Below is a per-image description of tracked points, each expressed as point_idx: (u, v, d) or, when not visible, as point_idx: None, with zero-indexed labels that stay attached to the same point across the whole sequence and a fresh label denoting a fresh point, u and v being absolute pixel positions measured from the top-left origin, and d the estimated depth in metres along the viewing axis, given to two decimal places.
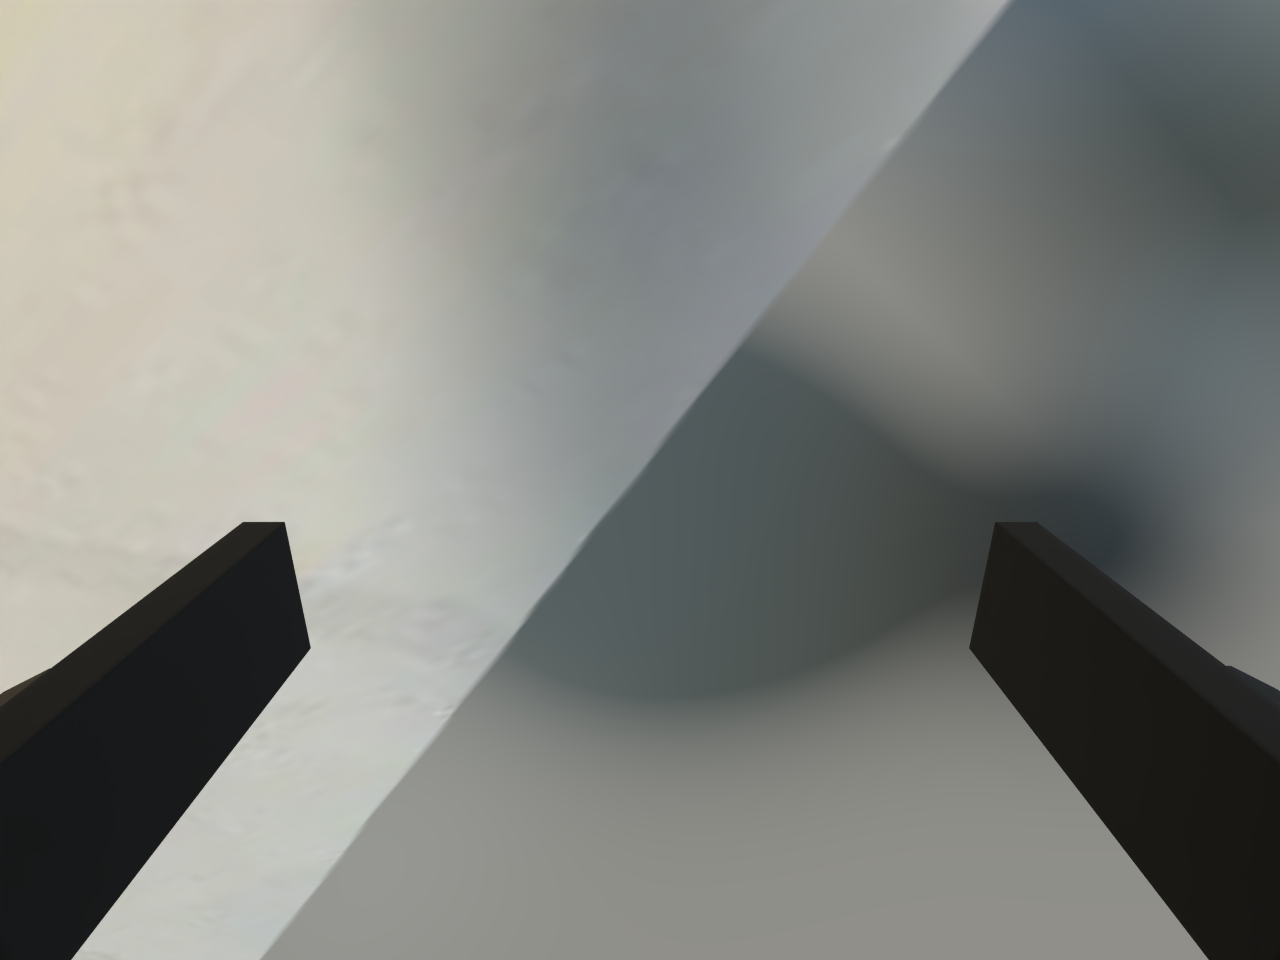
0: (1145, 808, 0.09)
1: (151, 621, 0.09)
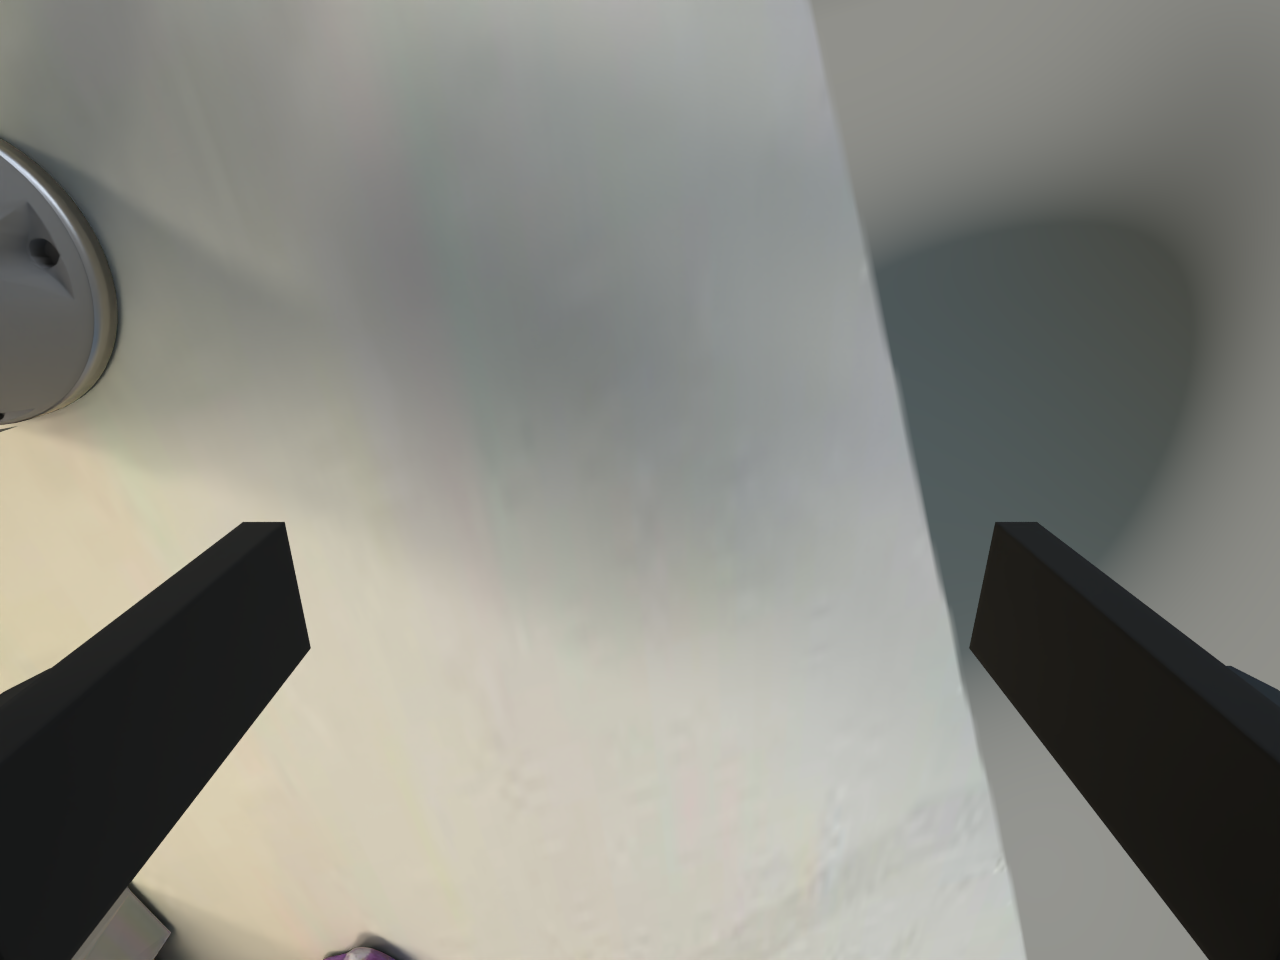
0: (1145, 808, 0.09)
1: (151, 621, 0.09)
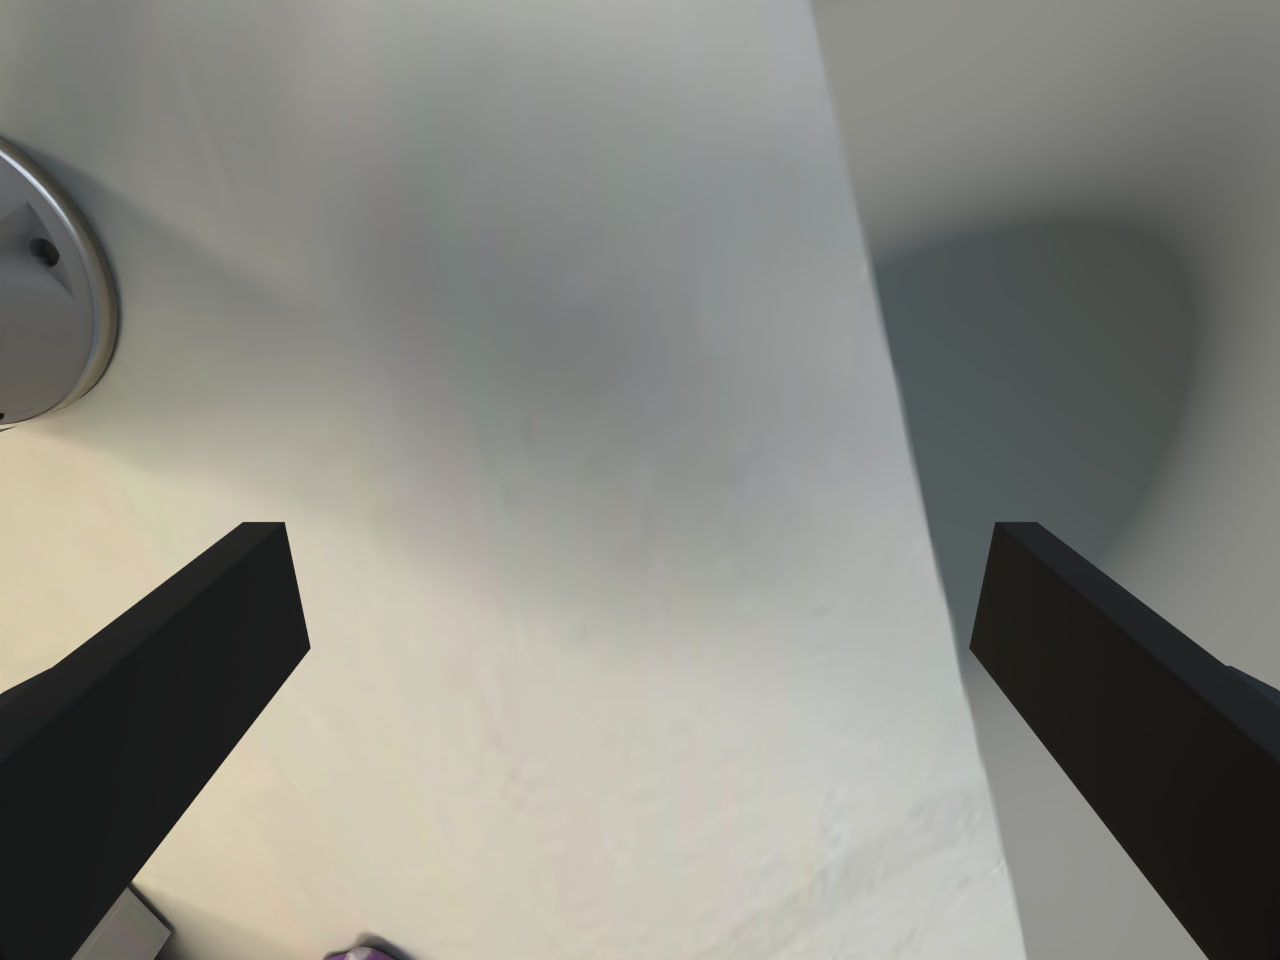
0: (1145, 808, 0.09)
1: (151, 621, 0.09)
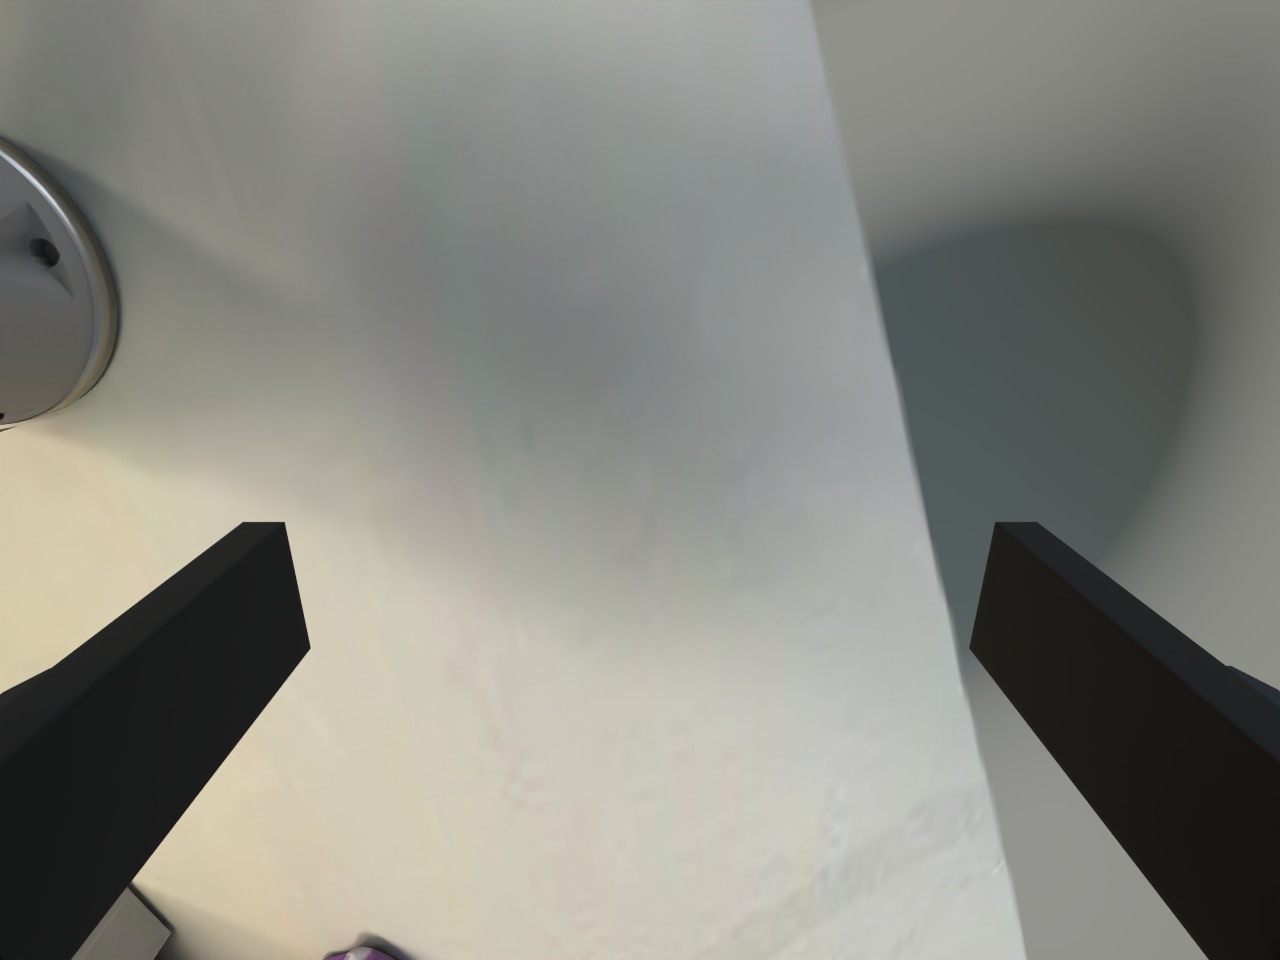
0: (1145, 808, 0.09)
1: (151, 621, 0.09)
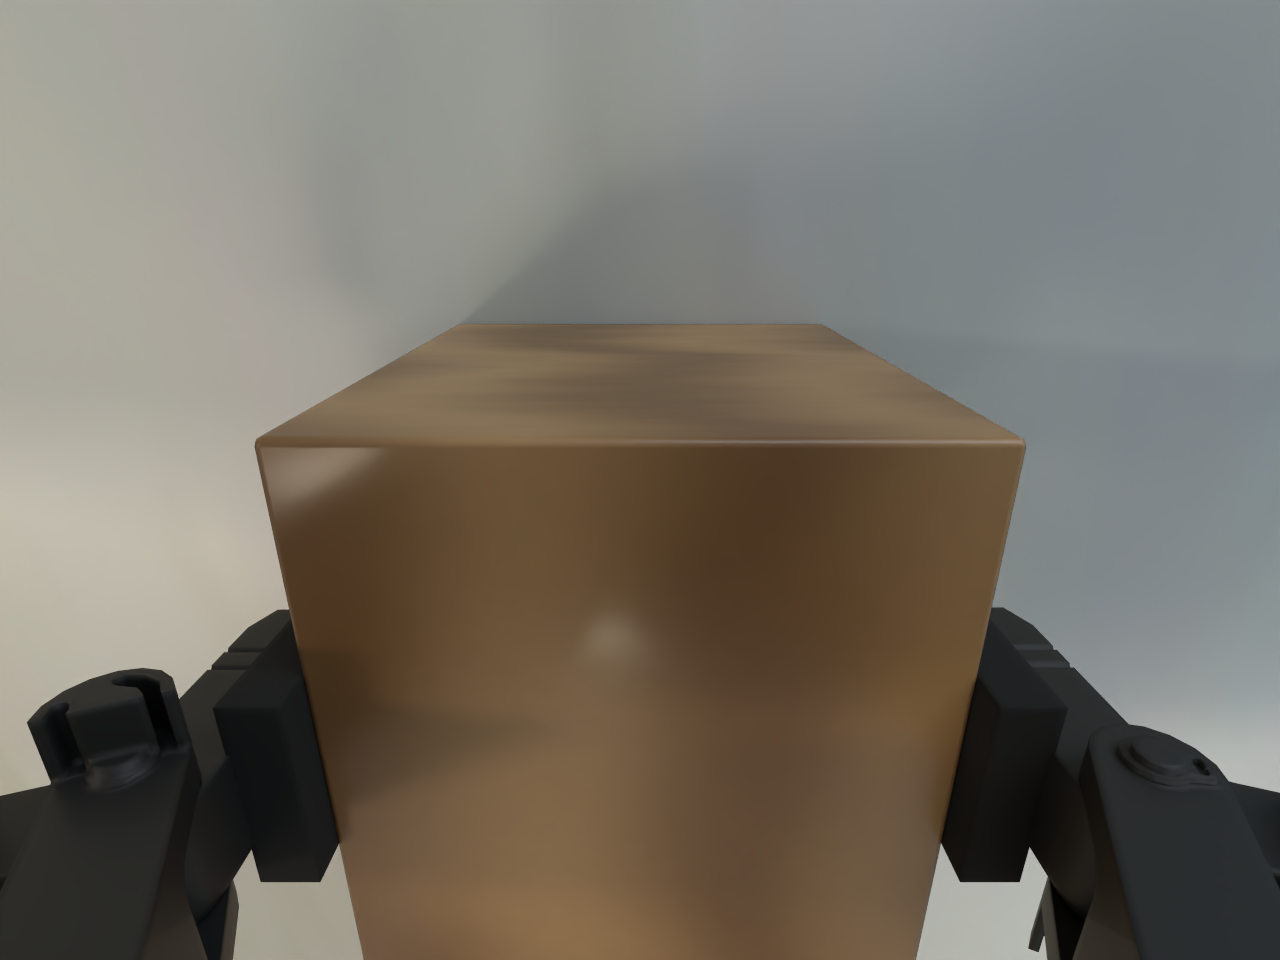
0: None
1: None
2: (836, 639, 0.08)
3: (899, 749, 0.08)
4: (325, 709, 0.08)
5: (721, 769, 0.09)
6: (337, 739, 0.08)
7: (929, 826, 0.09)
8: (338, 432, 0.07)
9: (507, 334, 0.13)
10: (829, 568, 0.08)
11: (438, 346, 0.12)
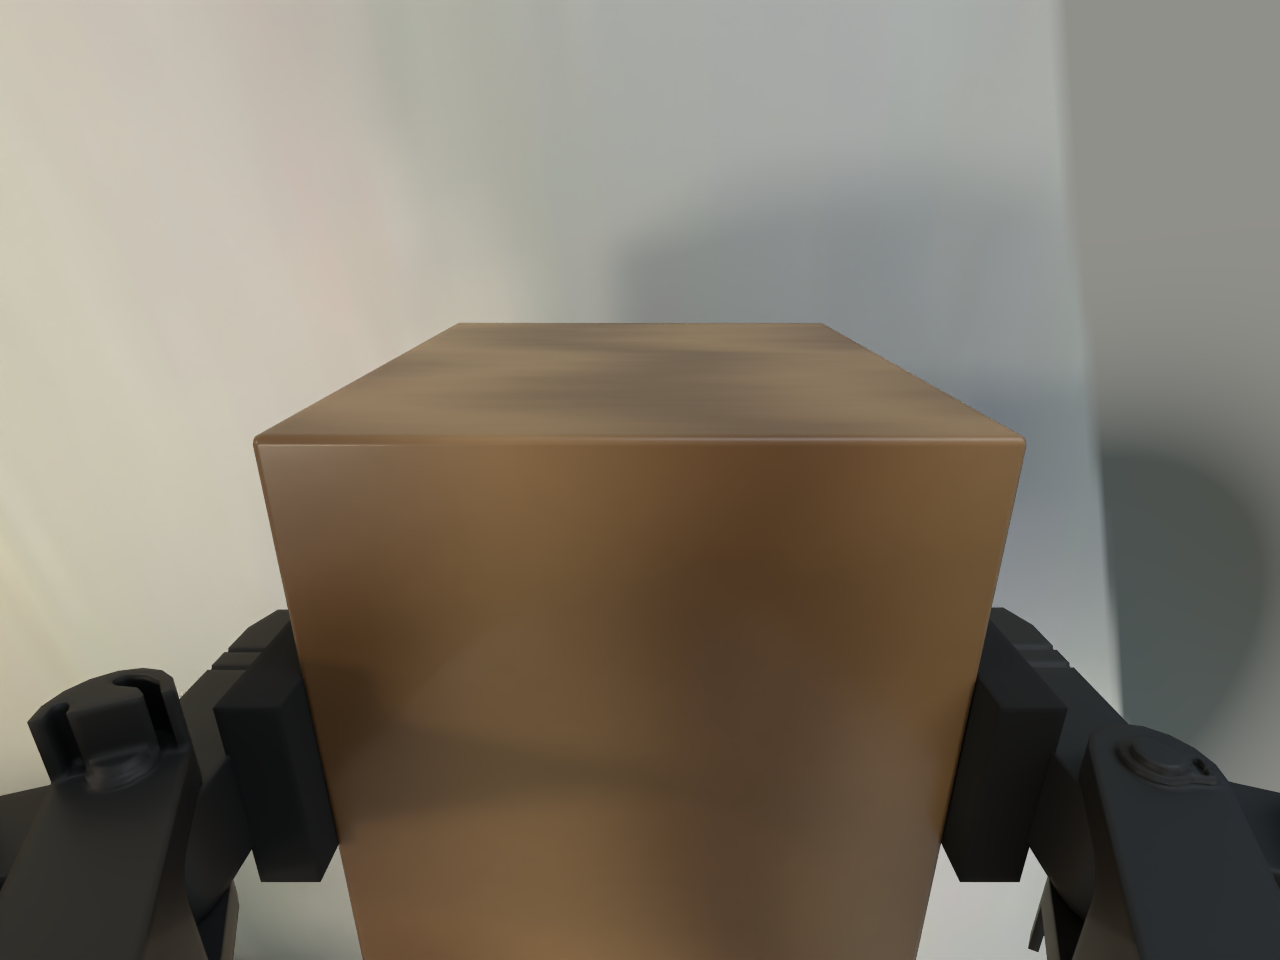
0: None
1: None
2: (836, 637, 0.08)
3: (899, 748, 0.08)
4: (323, 709, 0.08)
5: (721, 768, 0.09)
6: (336, 738, 0.08)
7: (929, 825, 0.09)
8: (337, 431, 0.07)
9: (506, 333, 0.13)
10: (829, 566, 0.08)
11: (437, 345, 0.12)
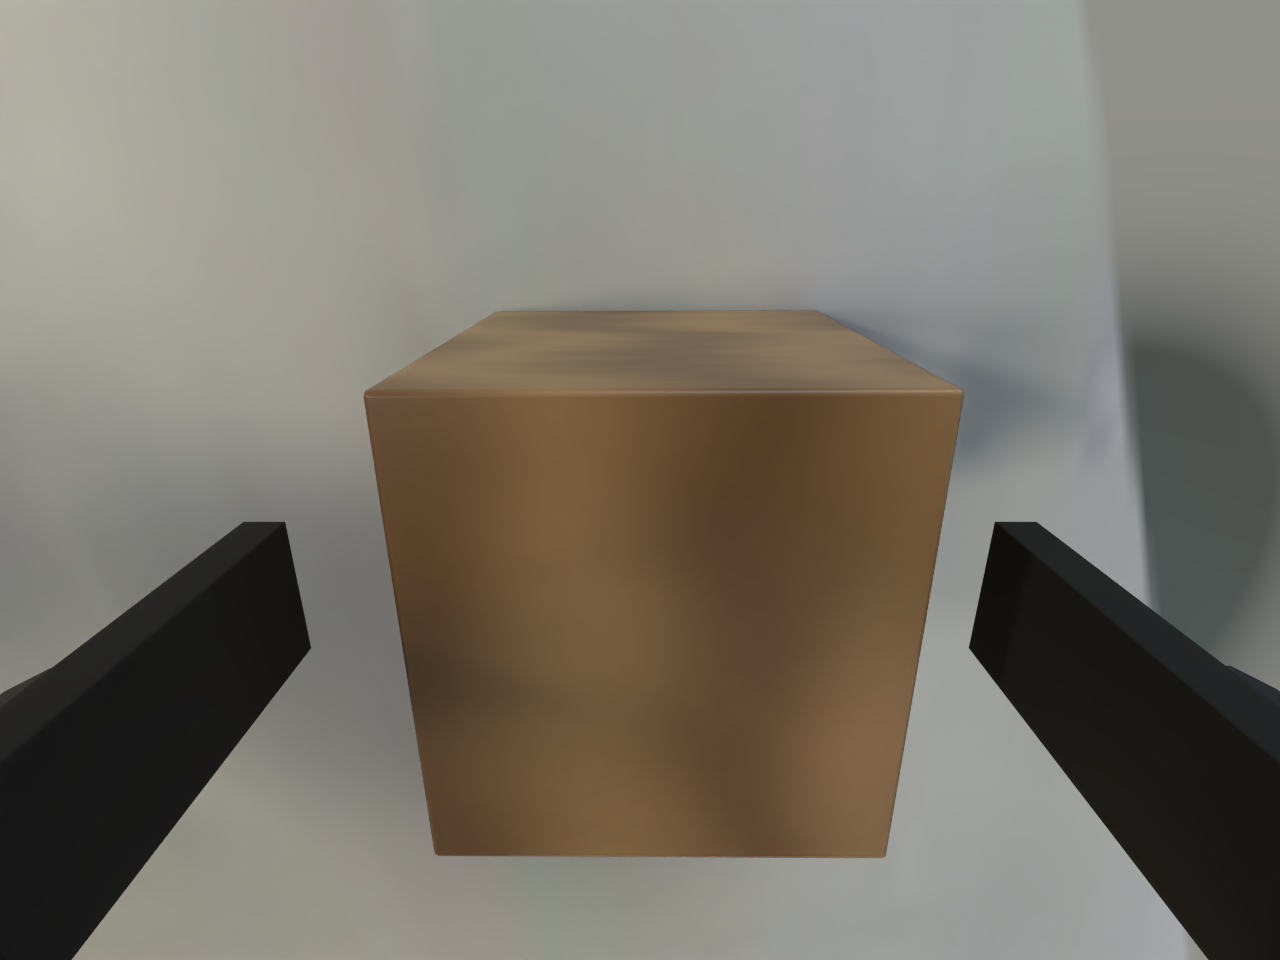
0: (1145, 808, 0.09)
1: (152, 621, 0.09)
2: (818, 552, 0.10)
3: (870, 647, 0.10)
4: (408, 613, 0.10)
5: (727, 664, 0.11)
6: (418, 638, 0.10)
7: (897, 713, 0.11)
8: (428, 387, 0.09)
9: (540, 319, 0.15)
10: (811, 494, 0.10)
11: (483, 328, 0.14)
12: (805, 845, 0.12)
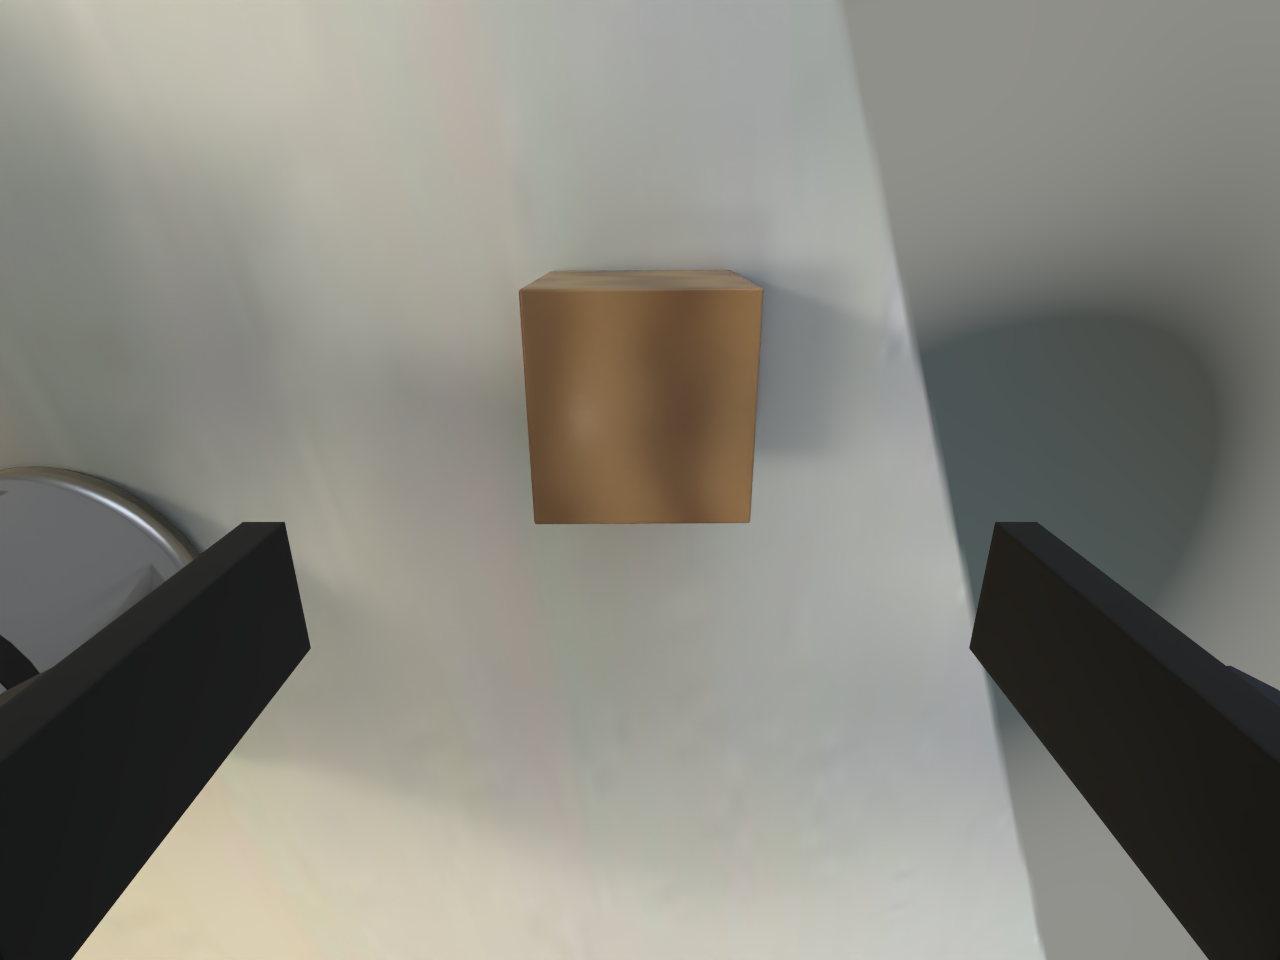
0: (1146, 809, 0.09)
1: (151, 621, 0.09)
2: (708, 361, 0.23)
3: (733, 407, 0.24)
4: (531, 391, 0.24)
5: (671, 416, 0.24)
6: (534, 404, 0.24)
7: (748, 441, 0.24)
8: (544, 288, 0.22)
9: (578, 273, 0.29)
10: (704, 334, 0.23)
11: (551, 276, 0.27)
12: (711, 515, 0.25)
